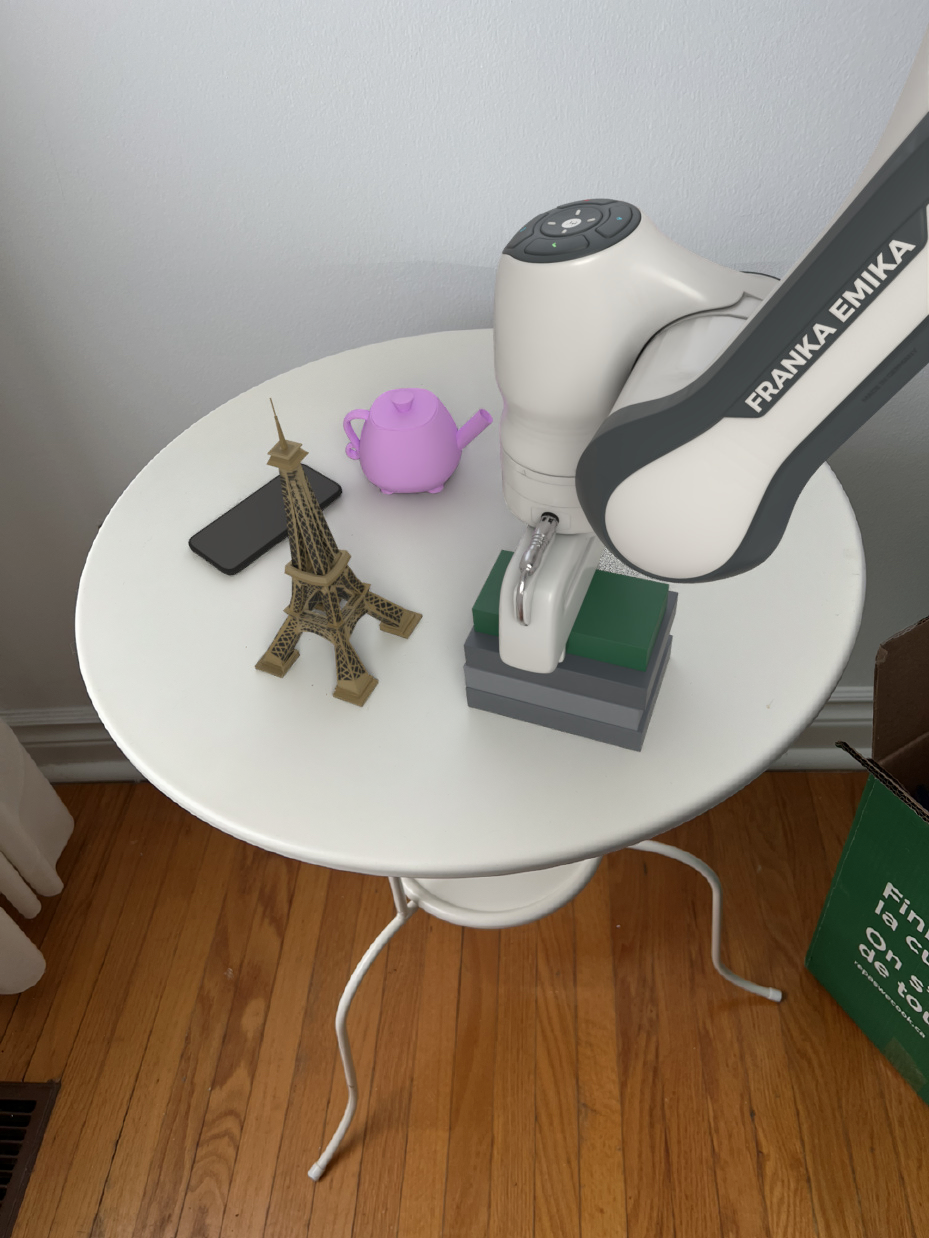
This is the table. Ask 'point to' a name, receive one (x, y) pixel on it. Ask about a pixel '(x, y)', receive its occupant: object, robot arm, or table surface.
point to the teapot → (410, 440)
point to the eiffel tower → (323, 586)
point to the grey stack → (571, 689)
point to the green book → (595, 615)
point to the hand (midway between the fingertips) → (570, 614)
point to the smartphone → (255, 524)
